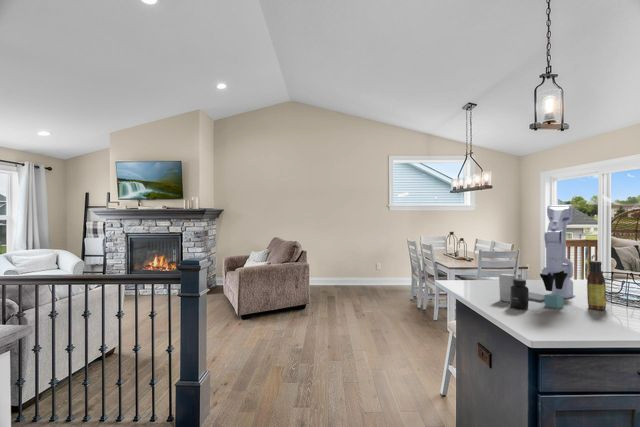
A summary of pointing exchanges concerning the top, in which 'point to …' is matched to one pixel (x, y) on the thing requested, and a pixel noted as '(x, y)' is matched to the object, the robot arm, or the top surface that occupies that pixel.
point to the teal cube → (554, 300)
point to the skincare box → (505, 286)
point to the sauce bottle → (596, 287)
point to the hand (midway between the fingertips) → (553, 289)
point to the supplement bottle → (519, 294)
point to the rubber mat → (536, 297)
